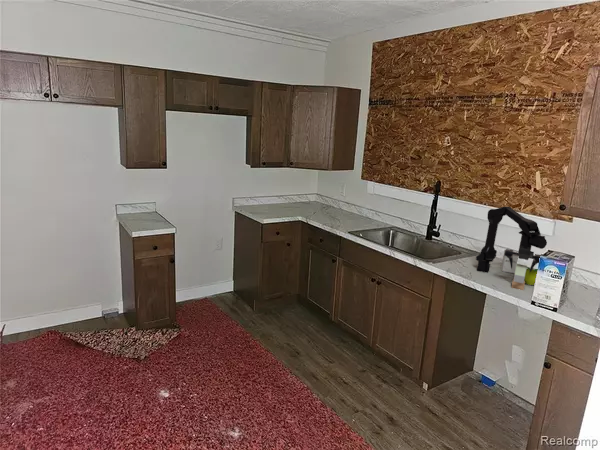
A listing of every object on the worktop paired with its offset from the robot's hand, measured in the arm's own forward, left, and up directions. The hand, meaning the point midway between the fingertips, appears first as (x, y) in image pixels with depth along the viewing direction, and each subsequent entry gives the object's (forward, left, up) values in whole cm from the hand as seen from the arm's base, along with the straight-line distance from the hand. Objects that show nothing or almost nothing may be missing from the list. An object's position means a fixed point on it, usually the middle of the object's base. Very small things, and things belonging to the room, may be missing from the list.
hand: (520, 270), depth 228 cm
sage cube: (0, 0, -2) cm, 3 cm away
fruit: (+6, +10, -10) cm, 16 cm away
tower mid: (0, 0, -6) cm, 7 cm away
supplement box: (-6, +29, -10) cm, 31 cm away
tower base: (0, 0, -10) cm, 11 cm away
